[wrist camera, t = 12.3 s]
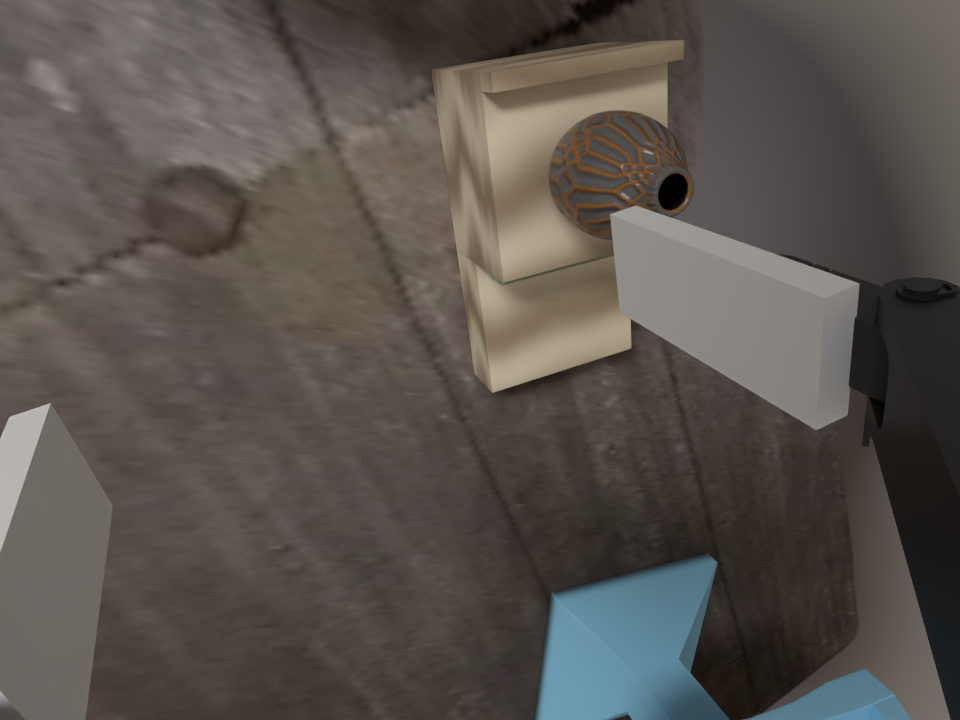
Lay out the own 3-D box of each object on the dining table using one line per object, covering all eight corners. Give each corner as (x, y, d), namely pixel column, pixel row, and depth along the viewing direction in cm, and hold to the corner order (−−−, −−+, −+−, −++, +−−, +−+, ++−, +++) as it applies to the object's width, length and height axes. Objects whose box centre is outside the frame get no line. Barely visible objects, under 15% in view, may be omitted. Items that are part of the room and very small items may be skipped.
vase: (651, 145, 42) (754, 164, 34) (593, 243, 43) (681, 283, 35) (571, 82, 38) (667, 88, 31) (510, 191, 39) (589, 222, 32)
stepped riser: (430, 69, 43) (490, 72, 35) (600, 42, 46) (689, 39, 38) (474, 374, 53) (528, 430, 45) (611, 331, 56) (684, 377, 48)
